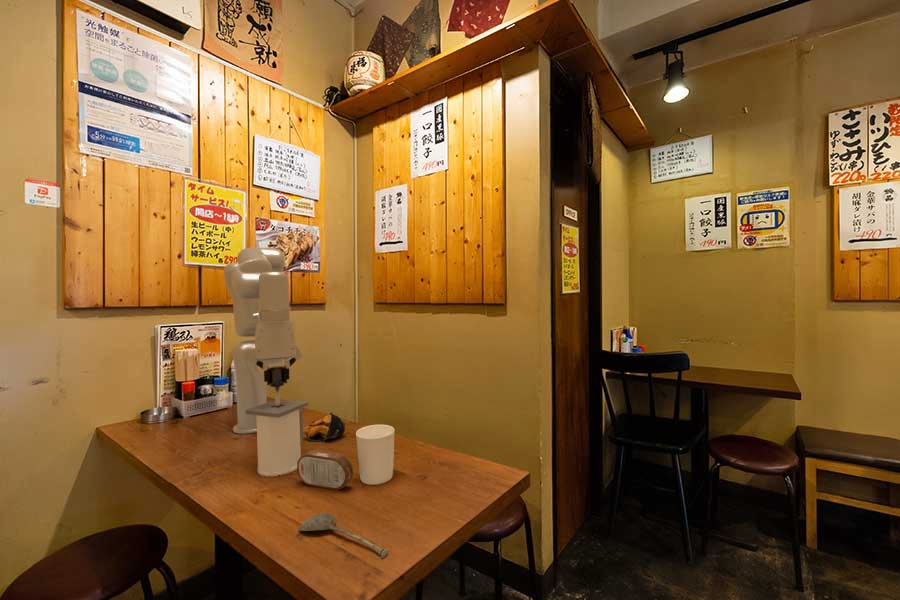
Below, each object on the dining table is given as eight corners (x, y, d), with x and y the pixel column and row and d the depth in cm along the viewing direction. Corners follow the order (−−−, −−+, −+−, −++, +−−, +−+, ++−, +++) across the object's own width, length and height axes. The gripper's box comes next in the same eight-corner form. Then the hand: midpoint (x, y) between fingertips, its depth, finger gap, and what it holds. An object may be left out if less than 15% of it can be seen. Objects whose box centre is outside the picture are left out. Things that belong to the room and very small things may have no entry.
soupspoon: (319, 518, 84) (292, 536, 78) (317, 503, 84) (291, 520, 78) (397, 548, 72) (372, 572, 67) (395, 530, 72) (370, 553, 66)
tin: (354, 487, 95) (353, 453, 95) (346, 493, 92) (345, 458, 92) (304, 479, 100) (303, 446, 100) (295, 485, 97) (294, 451, 97)
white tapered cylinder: (362, 490, 93) (361, 441, 93) (353, 473, 102) (351, 428, 102) (401, 480, 98) (399, 433, 97) (388, 465, 106) (387, 422, 106)
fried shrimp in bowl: (348, 427, 124) (290, 417, 117) (337, 454, 127) (280, 445, 120) (348, 409, 132) (294, 399, 126) (338, 434, 135) (285, 425, 129)
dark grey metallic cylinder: (278, 421, 112) (276, 364, 111) (299, 424, 109) (297, 365, 109) (257, 431, 105) (254, 369, 104) (278, 433, 102) (276, 370, 102)
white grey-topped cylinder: (286, 452, 117) (284, 396, 116) (316, 457, 113) (314, 399, 112) (247, 473, 104) (245, 410, 103) (280, 479, 100) (278, 413, 100)
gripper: (239, 319, 99) (242, 390, 100) (308, 316, 106) (310, 382, 107) (241, 317, 106) (244, 384, 107) (305, 314, 113) (308, 377, 113)
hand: (277, 382), depth 107 cm, fingers closed on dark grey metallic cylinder, 3 cm apart
